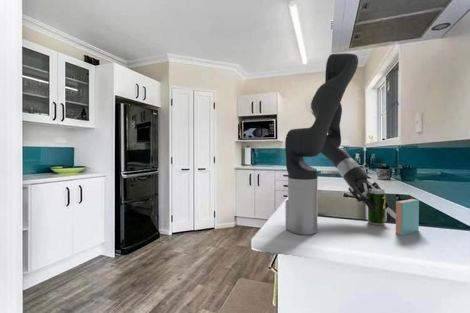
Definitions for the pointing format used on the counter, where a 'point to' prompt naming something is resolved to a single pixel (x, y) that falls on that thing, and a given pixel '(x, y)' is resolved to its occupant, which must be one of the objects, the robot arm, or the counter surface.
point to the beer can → (379, 201)
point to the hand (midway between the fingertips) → (381, 208)
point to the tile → (407, 216)
